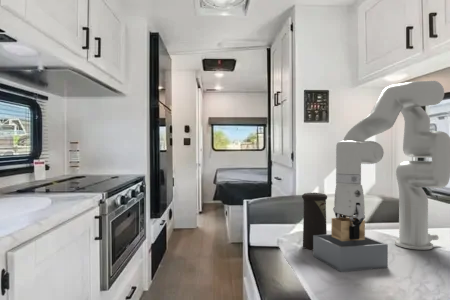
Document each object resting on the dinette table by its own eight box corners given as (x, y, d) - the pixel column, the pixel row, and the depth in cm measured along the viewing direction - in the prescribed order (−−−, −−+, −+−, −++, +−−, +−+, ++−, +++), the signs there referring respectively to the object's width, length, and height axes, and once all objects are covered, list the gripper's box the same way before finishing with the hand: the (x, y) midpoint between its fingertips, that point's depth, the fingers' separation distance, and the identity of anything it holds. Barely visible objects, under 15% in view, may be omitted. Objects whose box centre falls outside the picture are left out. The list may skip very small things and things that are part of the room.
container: (328, 251, 123) (328, 194, 123) (302, 249, 125) (302, 193, 125) (326, 245, 131) (326, 191, 132) (301, 243, 133) (301, 191, 133)
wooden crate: (353, 235, 115) (353, 217, 115) (364, 239, 109) (364, 220, 109) (331, 236, 113) (331, 218, 113) (342, 241, 107) (342, 221, 107)
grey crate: (355, 253, 121) (355, 232, 121) (387, 267, 105) (387, 244, 106) (313, 256, 117) (313, 235, 117) (340, 272, 101) (340, 247, 101)
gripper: (376, 181, 104) (376, 242, 104) (343, 178, 121) (342, 230, 120) (354, 181, 102) (354, 244, 102) (323, 178, 119) (323, 231, 119)
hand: (347, 236), depth 111 cm, fingers closed on wooden crate, 6 cm apart
